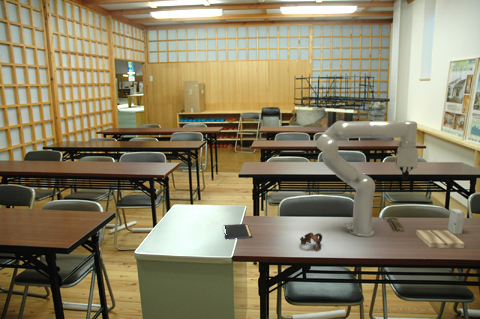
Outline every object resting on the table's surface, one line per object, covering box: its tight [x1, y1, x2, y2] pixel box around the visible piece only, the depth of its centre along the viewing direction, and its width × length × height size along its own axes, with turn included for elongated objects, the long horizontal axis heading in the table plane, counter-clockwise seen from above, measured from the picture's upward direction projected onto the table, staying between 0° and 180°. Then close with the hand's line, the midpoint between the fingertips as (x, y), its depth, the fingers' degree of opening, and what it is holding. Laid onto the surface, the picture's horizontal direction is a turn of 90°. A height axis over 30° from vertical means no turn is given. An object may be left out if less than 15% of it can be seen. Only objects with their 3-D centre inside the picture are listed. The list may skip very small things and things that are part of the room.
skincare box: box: [447, 208, 466, 235], centre depth 189 cm, size 6×4×12 cm
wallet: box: [223, 223, 254, 240], centre depth 195 cm, size 20×2×15 cm
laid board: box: [430, 229, 466, 249], centre depth 179 cm, size 9×16×2 cm, turn 176°
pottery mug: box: [299, 232, 323, 252], centre depth 175 cm, size 12×10×8 cm
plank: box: [415, 229, 448, 249], centre depth 179 cm, size 8×16×2 cm, turn 176°
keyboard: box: [382, 216, 406, 233], centre depth 202 cm, size 22×9×2 cm, turn 168°
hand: (404, 179), depth 187 cm, fingers closed
